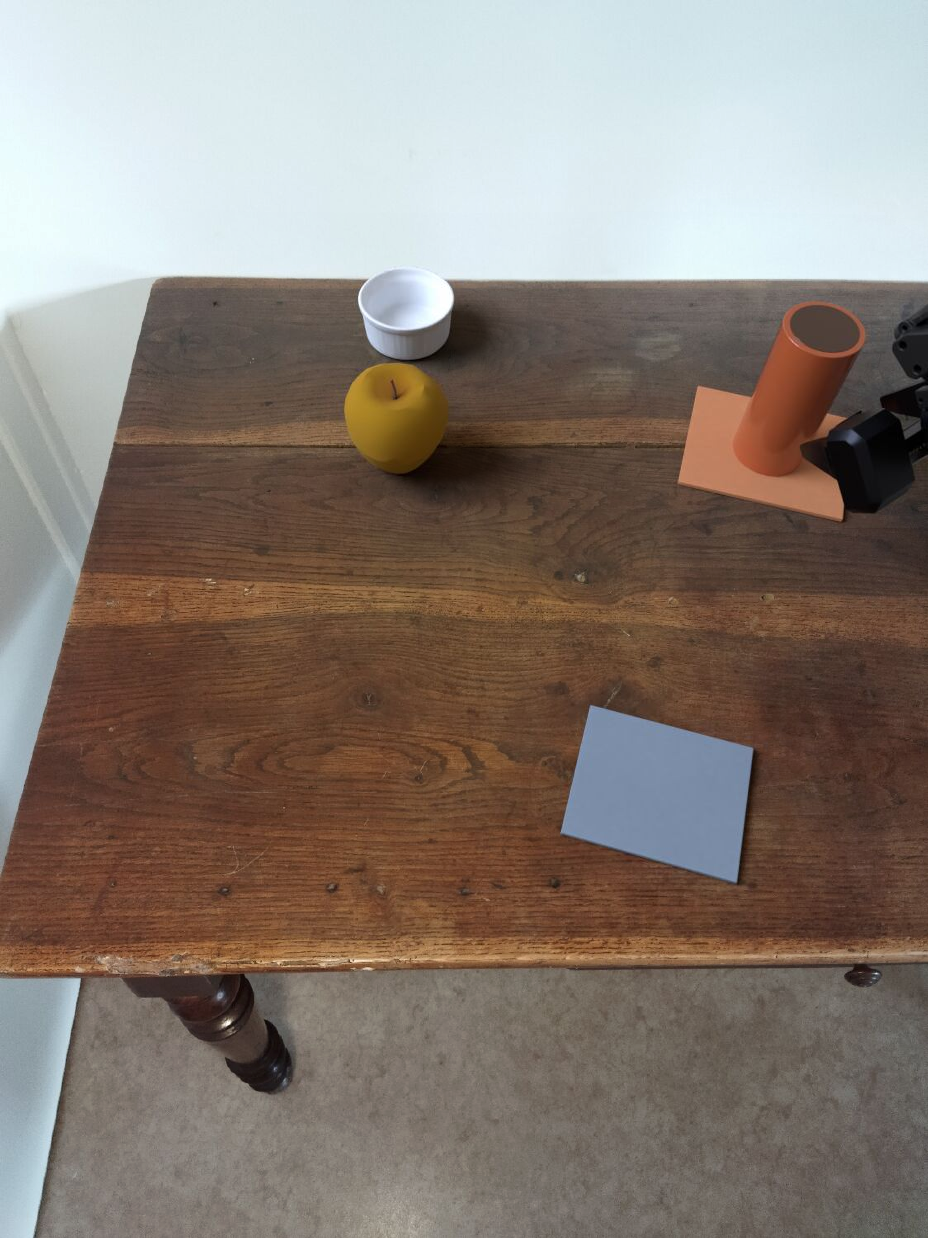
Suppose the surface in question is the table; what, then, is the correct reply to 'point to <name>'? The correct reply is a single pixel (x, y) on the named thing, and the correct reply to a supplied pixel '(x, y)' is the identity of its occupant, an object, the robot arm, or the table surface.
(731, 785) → the slate mat
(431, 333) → the ramekin
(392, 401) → the apple
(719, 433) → the terracotta mat
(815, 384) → the terracotta pot
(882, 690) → the table surface
